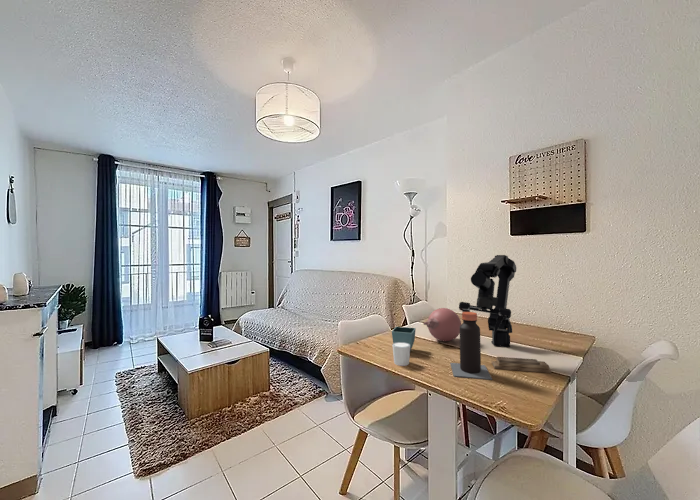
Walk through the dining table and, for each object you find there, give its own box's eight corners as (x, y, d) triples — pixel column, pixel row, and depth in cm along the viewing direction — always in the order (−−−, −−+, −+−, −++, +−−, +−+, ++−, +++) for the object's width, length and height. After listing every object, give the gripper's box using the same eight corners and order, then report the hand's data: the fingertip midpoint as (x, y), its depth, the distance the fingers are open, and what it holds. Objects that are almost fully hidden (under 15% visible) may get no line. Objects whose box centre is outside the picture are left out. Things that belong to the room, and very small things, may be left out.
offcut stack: (494, 368, 107) (494, 360, 107) (491, 363, 112) (491, 355, 112) (551, 372, 103) (551, 364, 103) (545, 367, 108) (545, 359, 108)
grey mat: (453, 376, 101) (453, 375, 101) (450, 363, 112) (450, 362, 112) (492, 379, 98) (492, 378, 98) (484, 366, 109) (484, 365, 109)
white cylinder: (411, 360, 116) (411, 342, 116) (409, 367, 109) (409, 348, 109) (394, 359, 118) (394, 341, 118) (390, 365, 112) (390, 346, 112)
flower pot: (391, 352, 126) (391, 331, 126) (396, 346, 134) (396, 326, 134) (412, 355, 122) (412, 333, 123) (416, 348, 131) (415, 328, 131)
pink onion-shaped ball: (413, 339, 144) (412, 307, 144) (446, 334, 152) (445, 304, 152) (433, 348, 130) (433, 313, 130) (468, 343, 138) (468, 309, 138)
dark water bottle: (484, 372, 102) (483, 314, 103) (466, 374, 101) (465, 315, 102) (474, 365, 109) (473, 310, 109) (456, 366, 108) (455, 311, 108)
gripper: (460, 285, 119) (455, 324, 114) (513, 291, 110) (510, 334, 106) (462, 291, 128) (457, 327, 124) (511, 297, 120) (508, 337, 116)
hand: (482, 331), depth 117 cm, fingers open, 9 cm apart
